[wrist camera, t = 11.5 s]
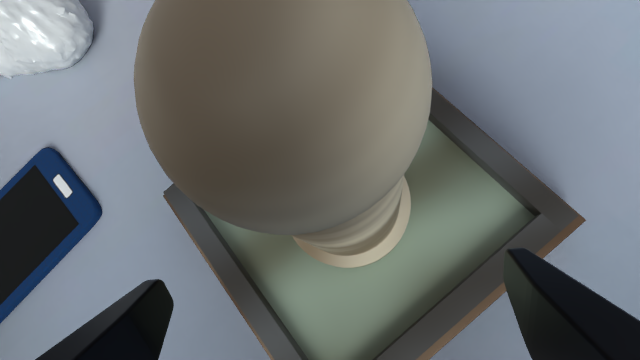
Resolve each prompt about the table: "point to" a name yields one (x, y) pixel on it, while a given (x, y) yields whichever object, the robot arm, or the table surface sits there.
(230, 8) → the beige round-topped cylinder
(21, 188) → the cell phone
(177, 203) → the picture frame
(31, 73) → the sitting furry creature
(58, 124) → the table surface
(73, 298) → the table surface
